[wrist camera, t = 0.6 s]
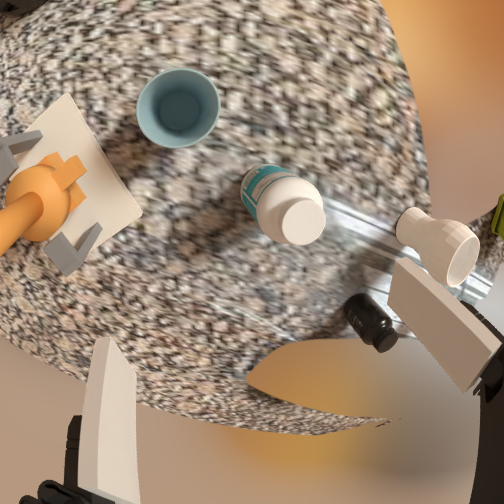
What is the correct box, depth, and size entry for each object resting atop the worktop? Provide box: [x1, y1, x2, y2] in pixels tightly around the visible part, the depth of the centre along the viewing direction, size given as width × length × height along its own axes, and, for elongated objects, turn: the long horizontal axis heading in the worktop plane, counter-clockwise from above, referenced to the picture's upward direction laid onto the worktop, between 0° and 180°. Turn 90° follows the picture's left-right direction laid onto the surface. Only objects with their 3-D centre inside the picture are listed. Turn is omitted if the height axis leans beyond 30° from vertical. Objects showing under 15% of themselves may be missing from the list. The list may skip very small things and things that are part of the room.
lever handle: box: [0, 152, 87, 257], centre depth 19 cm, size 8×16×17 cm, turn 116°
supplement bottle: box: [343, 293, 398, 353], centre depth 49 cm, size 7×7×12 cm
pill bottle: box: [240, 164, 325, 245], centre depth 32 cm, size 8×7×14 cm
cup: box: [136, 68, 220, 148], centre depth 26 cm, size 8×8×10 cm
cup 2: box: [396, 207, 480, 287], centre depth 41 cm, size 11×11×15 cm
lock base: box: [0, 93, 143, 277], centre depth 26 cm, size 20×14×11 cm
